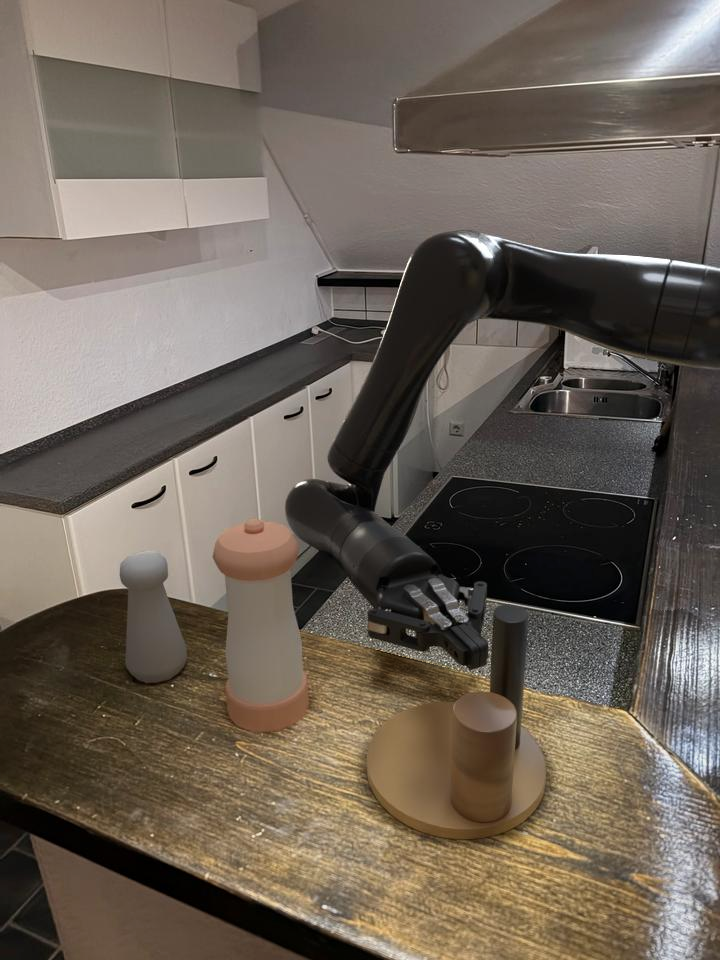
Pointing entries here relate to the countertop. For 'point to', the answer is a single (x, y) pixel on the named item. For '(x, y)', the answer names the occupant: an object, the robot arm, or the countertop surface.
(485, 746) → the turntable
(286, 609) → the pepper shaker
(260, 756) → the countertop surface
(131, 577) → the salt shaker
